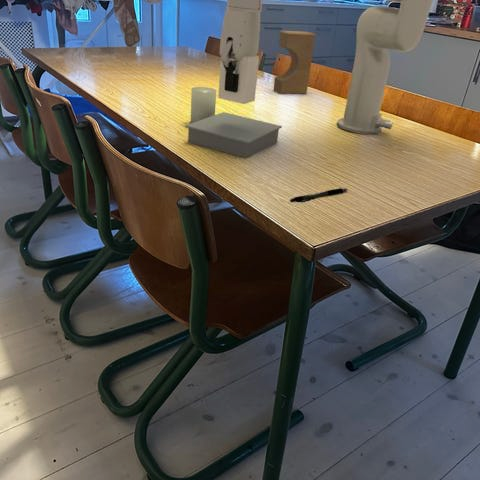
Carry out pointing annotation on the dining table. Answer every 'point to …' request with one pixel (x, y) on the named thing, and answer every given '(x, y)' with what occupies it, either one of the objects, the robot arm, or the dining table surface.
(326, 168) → the dining table surface
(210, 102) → the grey cylinder
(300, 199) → the pen
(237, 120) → the podium
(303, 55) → the decorative block
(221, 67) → the carton
